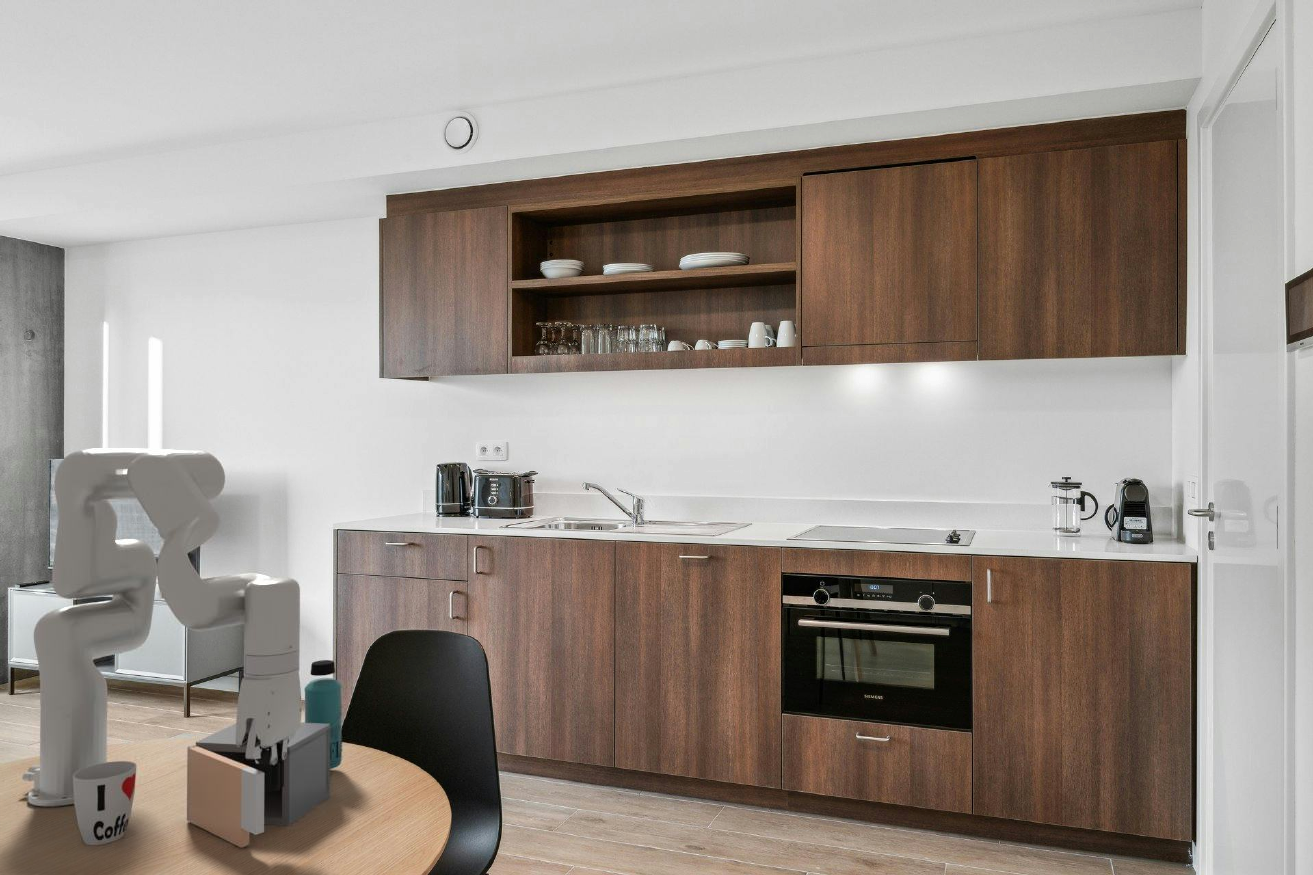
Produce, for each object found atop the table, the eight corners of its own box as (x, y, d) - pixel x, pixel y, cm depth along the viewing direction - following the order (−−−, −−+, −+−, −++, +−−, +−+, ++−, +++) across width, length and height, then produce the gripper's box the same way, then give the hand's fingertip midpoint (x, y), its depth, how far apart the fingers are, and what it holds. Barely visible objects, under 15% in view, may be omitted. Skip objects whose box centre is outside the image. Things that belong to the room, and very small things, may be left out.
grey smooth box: (195, 819, 138) (195, 742, 139) (242, 790, 150) (243, 719, 150) (289, 825, 136) (289, 746, 136) (330, 796, 148) (330, 723, 148)
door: (185, 819, 137) (186, 746, 138) (193, 816, 138) (193, 744, 138) (255, 854, 125) (256, 774, 125) (263, 851, 126) (264, 772, 126)
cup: (89, 854, 126) (89, 783, 126) (61, 841, 130) (61, 773, 131) (146, 833, 133) (147, 766, 133) (118, 822, 137) (119, 757, 138)
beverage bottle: (329, 780, 155) (329, 666, 155) (295, 778, 156) (295, 664, 156) (349, 768, 161) (349, 657, 162) (316, 765, 162) (317, 656, 163)
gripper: (277, 651, 138) (276, 769, 137) (216, 674, 123) (214, 807, 123) (322, 652, 137) (321, 772, 136) (265, 676, 122) (264, 810, 121)
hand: (270, 788), depth 129 cm, fingers closed
